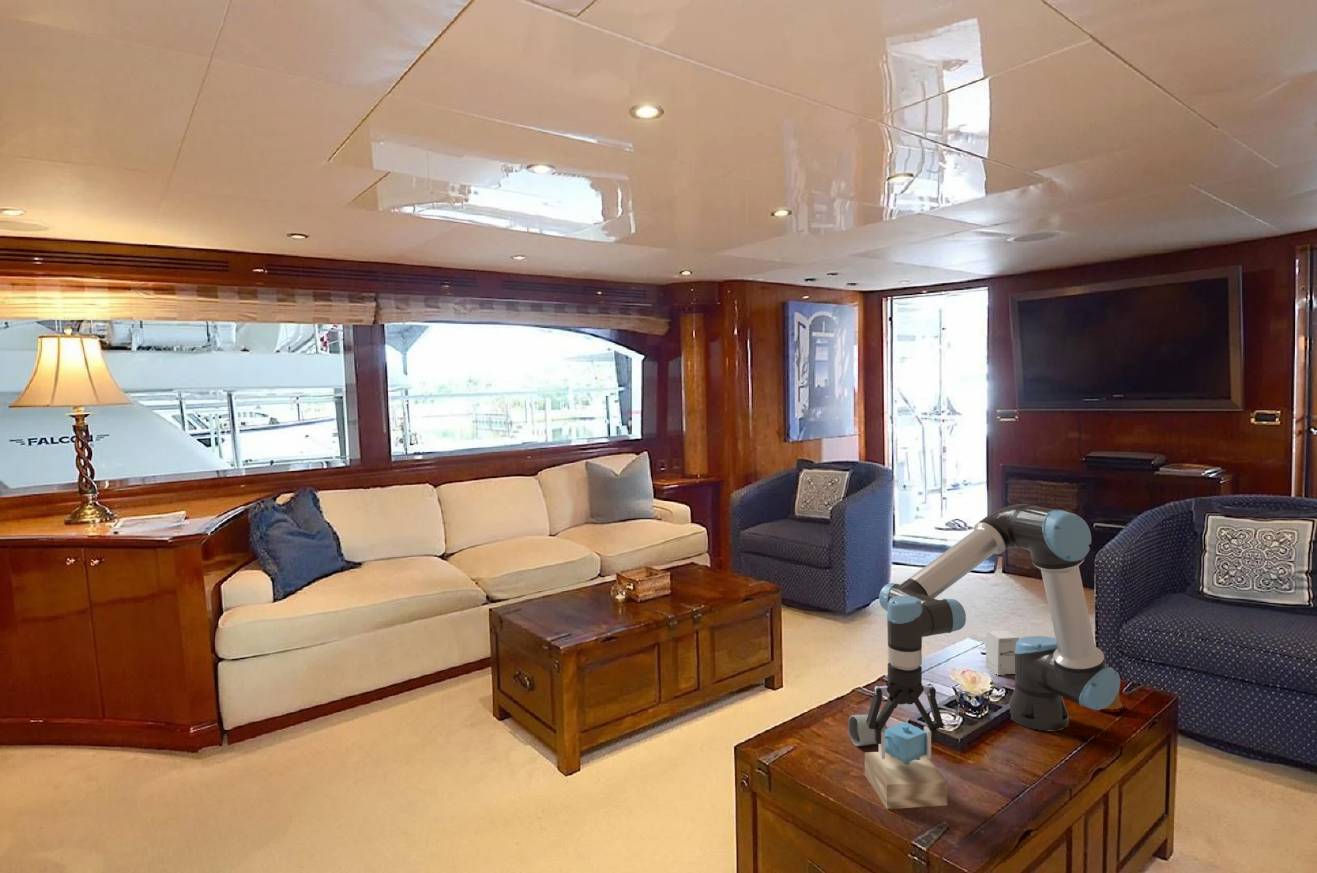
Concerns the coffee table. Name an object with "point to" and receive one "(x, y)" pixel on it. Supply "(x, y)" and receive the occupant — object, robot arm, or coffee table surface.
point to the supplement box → (1001, 652)
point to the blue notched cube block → (905, 742)
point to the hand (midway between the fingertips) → (904, 756)
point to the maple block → (905, 781)
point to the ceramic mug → (861, 730)
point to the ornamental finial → (1115, 703)
